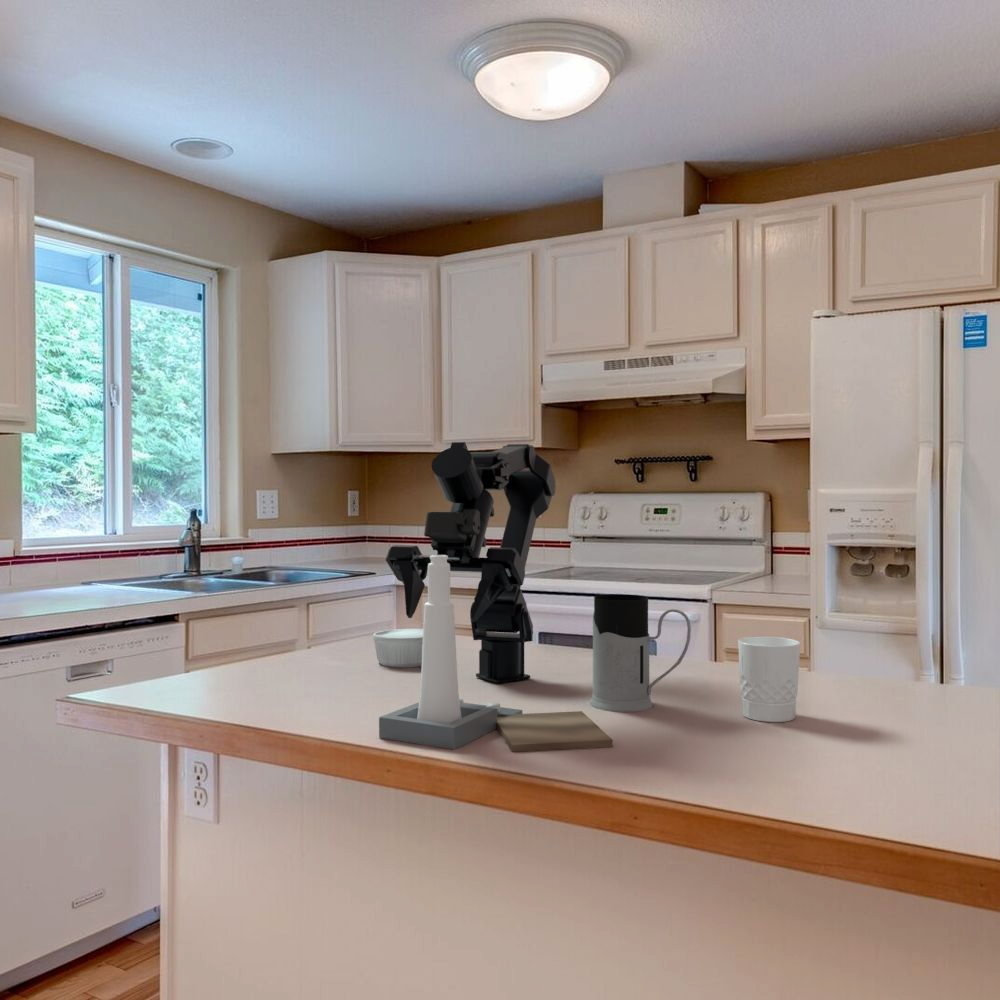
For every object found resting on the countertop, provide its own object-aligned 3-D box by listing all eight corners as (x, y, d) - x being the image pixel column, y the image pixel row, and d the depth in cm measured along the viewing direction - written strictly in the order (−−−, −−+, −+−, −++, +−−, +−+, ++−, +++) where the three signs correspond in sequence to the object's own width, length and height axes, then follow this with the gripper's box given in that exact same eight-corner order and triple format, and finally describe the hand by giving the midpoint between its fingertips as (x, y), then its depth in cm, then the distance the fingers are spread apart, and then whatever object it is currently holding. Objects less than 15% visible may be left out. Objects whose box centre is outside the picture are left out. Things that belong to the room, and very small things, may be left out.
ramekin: (382, 656, 166) (382, 627, 166) (443, 657, 165) (443, 628, 165) (365, 668, 155) (365, 637, 155) (430, 670, 154) (430, 638, 154)
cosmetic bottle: (421, 741, 110) (420, 557, 110) (409, 729, 116) (409, 554, 116) (469, 737, 112) (469, 556, 112) (456, 724, 118) (455, 553, 118)
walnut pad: (492, 721, 120) (492, 715, 120) (581, 717, 122) (581, 711, 122) (511, 751, 106) (511, 744, 106) (612, 746, 108) (612, 739, 108)
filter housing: (454, 707, 127) (453, 689, 127) (522, 716, 122) (522, 697, 122) (379, 737, 112) (379, 717, 112) (453, 749, 107) (453, 727, 107)
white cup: (767, 726, 117) (767, 648, 117) (725, 713, 124) (725, 639, 124) (813, 719, 120) (813, 643, 120) (769, 706, 127) (769, 634, 127)
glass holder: (602, 694, 135) (602, 592, 135) (698, 704, 129) (698, 597, 128) (580, 707, 127) (580, 599, 127) (681, 718, 121) (682, 604, 121)
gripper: (388, 488, 128) (354, 582, 119) (515, 487, 122) (490, 587, 113) (414, 535, 136) (384, 626, 127) (534, 537, 130) (513, 633, 121)
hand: (440, 618), depth 122 cm, fingers open, 9 cm apart
